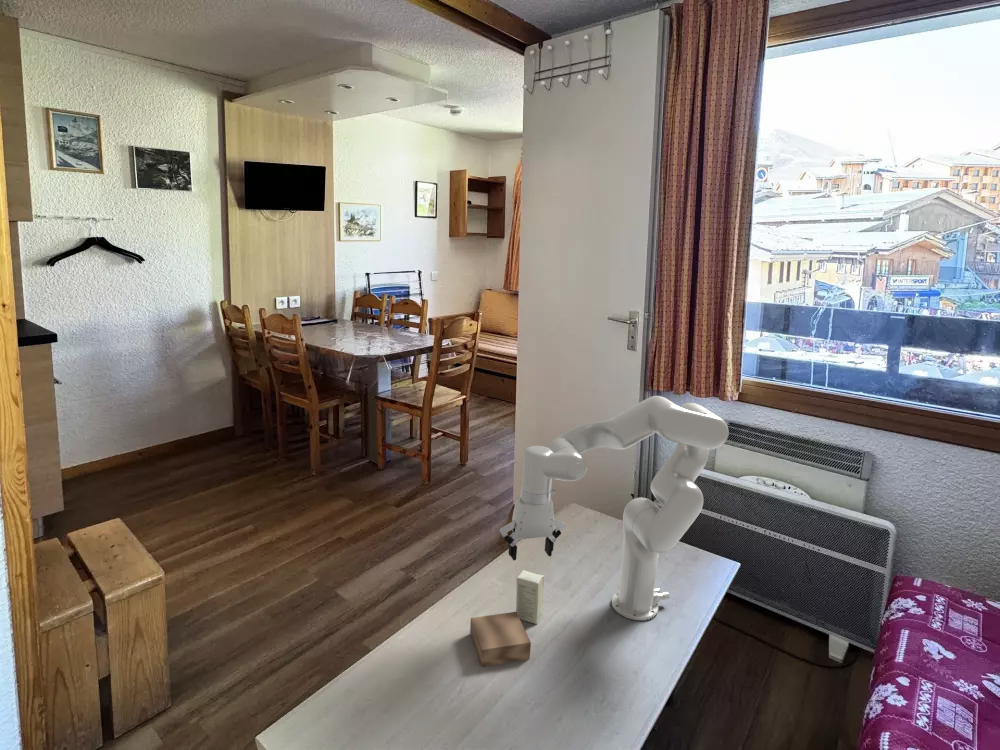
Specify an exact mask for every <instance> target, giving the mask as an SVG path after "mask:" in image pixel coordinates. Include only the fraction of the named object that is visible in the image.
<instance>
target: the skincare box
mask: <svg viewBox="0 0 1000 750" xmlns="http://www.w3.org/2000/svg"><path fill="white" fill-rule="evenodd" d="M544 583H545V575H543V574H540V573H537V572H536V573H535V572H534V571H533V572H532V571H528V570H525V569H523V570H522V571H521V572H520V573H519V574H518V576H517V577H516V596H515V597H516V601H515V605H516V606H515V612H517V614H518V617H519V619H520V621H524V622H525V621H526V622H528V623H533V624H534V625H537V624H539V621H540V620H541V619H542V617H543V612H544V611H543V610H544V591H545V590H544V585H545V584H544Z"/></svg>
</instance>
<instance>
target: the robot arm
mask: <svg viewBox="0 0 1000 750" xmlns="http://www.w3.org/2000/svg"><path fill="white" fill-rule="evenodd" d="M654 434H657V435H658V436H660V437H661V438H662V439H665V440H667V441H670V442H674V443H677V444H676V447H675V448H674V450H673V452H672V453H671V454H670V456H669V458H668V459H667V460H666V461H665V463H664V464H663V465H662V467H661V468H660V469H659V470H658V472H656V474H655V475H654V477H653V479H652V480H651V483H650V490H651V493H652V495H653V496H654V497H655V499H656V500H657V501H658V502H659V503H660V504H661V505H662V506H661V507H659V506H658V505H657V504H656V503H655V501H652V500H651V499H649V498H647V497H646V498H645V497H635V498H633V499H631V500H630V501H629V502H628V503H627V504H626V506H625V507H624V511H623V515H622V527H623V529H622V530H623V531H622V532H623V543H622V553H621V554H622V555H621V564H620V574H619V582H618V583H619V584H618V590H617V592H616V593H614V594H613V595H612V597H611V605H612V608H613V609H614V611H615V612H616V613H618V614H619V615H621V616H622V617H624V618H627V619H629V620H633V621H648V620H651V619H653V618H655V617H656V616H657V615H656V614H658V613H659V602H660V600H661V601H662V600H664V601H665V600H669V599H670V593H669V592H668V591H663V592H661V590H660V588H659V587H657V588H656V581H657V573H658V564H659V556H660V555H661V554H665V553H667V552H669V551H670V550H672V549H673V548H674V547H675V546H676V545H677V543H679V541H680V540H681V539H682V537H683V536H684V535H685V533H686V532H688V530H689V529H690V527H691V526H692V524H693V523H694V522H695V521H696V519H697V518H698V516H699V515H700V513H701V512H702V510H703V506H704V495H703V493H702V491H701V489H700V488H699V486H698V485H697V484H696V483H695V481H696V480H697V478H698V477H699V475H700V473H702V470H703V469H704V468H705V466H706V464H707V463H708V462H707V461H708V459H709V456H710V450H715V449H718V448H720V447H722V446H723V445H724V444H725V443H726V441H727V440H728V438H729V426H728V424H727V423H726V421H725V420H724V419H723V418H721V417H720V416H719V415H717V414H715V413H713V412H711V411H710V410H708V408H705V407H704V406H703V405H700V404H698V403H694V402H686V403H683V404H682V405H681V406H679V405H678V404H675V402H672V401H671V400H669V399H668V398H666V397H664V396H660V395H653V396H652V395H651V396H650V397H648V398H646V399H644V400H642V401H640V402H638V403H637V404H635V405H633V406H631V407H630V408H629V407H628V408H627V409H626V410H624V411H622V412H620V413H618V414H616V415H615V416H613V417H611V418H608V419H606V420H599V421H596V422H590V423H586V424H582V425H578V426H576V427H574V428H571V429H570V430H567V431H566V432H564V433H562V434H561V435H559V436H557V437H556V438H554V439H553V440H552V441H551V442H550V443H549V445H548V446H543V445H531V446H528V447H526V449H525V450H524V451H523V456H522V457H523V459H522V471H521V482H520V483H521V485H520V496H518V497H517V498H516V500H515V505H514V508H513V513H512V517H511V518H512V519H511V522H509V523H507V524H505V525H504V526H502V527H500V528H499V532H500V533H501V535H502V538H503V539H504V540H505V541H506V542H507V543H508V555H509V556H510V558H511V559H512V561H514V562H515V561H516V560H517V553H518V546H517V544H518V543H519V542H520V541H521V540H528V539H530V540H531V539H539V538H545V543H544V552H545V553H546V555H547V556H548V557H552V553H553V551H554V544H555V542H556V541H557V538H559V536H561V534H562V531H563V530H564V528H565V527H566V524H565V522H563V521H562V520H559V519H556V518H555V517H554V516H555V514H554V505H553V503H554V502H553V499H552V496H553V495H556V489H555V488H552V483H553V480H558V481H559V480H560V481H564V482H574V481H575V482H576V481H578V480H580V479H581V478H583V477H584V476H585V475H586V473H587V469H588V468H587V467H588V465H587V461H586V459H585V458H584V456H583V455H582V454H583V453H585V452H588V451H590V450H594V449H600V448H601V449H602V448H603V449H604V448H605V449H612V450H626V449H629V448H631V447H633V446H634V445H636V444H637V443H639V442H641V441H643V440H645V439H646V438H647V439H648V438H649V437H650V436H652V435H654ZM554 526H556V528H555V529H554ZM510 531H512V533H511V534H510V535H508V532H510ZM657 612H658V613H657ZM655 615H656V616H655ZM654 616H655V617H654ZM652 617H653V618H652ZM650 618H651V619H650ZM647 619H648V620H647Z"/></svg>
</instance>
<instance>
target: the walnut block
mask: <svg viewBox="0 0 1000 750" xmlns="http://www.w3.org/2000/svg"><path fill="white" fill-rule="evenodd" d="M469 626H470V627H469V635H470V637H471V638H470V639H471V641H472V643H473V646H474V649H475V653H476V655H477V657H478V660H479V664H480V666H481V667H489V666H495V665H500V664H501V665H503V664H507V663H513V662H520V661H526V660H530V659H531V646H532V642H531V640H530V637H529V635H528V633H527V632H526V629H525V627H524V626H523V623H522V620H521V619H519V617H518V614H517V612H516V611H511V612H503V613H498V614H496V613H495V614H489V615H482V616H476V617H474V616H473V617H471V618H470V625H469Z"/></svg>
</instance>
